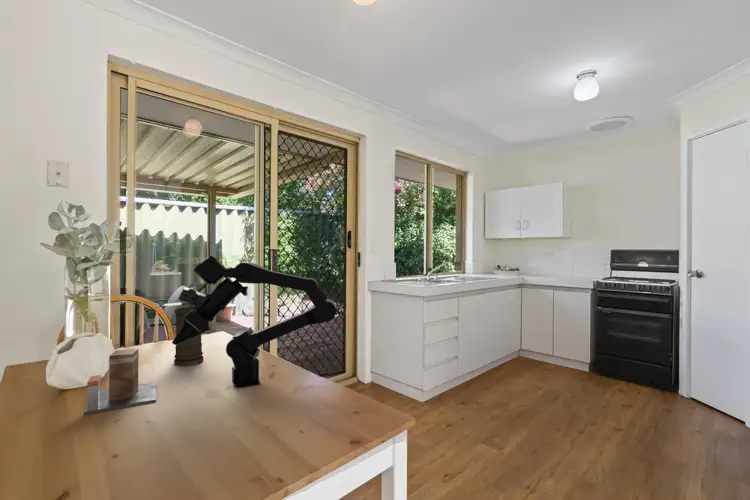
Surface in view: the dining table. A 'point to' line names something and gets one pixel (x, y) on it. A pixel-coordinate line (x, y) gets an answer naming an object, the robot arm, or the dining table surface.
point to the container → (187, 343)
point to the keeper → (101, 402)
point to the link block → (123, 374)
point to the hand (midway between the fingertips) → (176, 339)
